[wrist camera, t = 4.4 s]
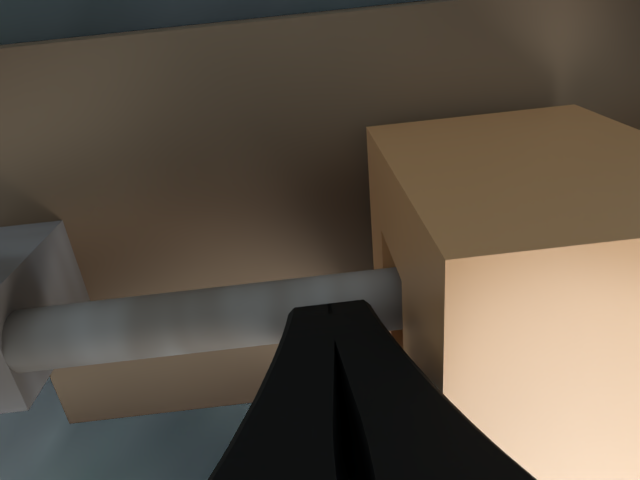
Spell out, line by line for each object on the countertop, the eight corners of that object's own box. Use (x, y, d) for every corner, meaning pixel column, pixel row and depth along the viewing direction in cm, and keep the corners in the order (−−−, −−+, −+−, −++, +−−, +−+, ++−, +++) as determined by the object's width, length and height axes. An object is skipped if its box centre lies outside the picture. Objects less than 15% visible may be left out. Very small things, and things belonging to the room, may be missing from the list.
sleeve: (547, 316, 13) (724, 535, 8) (377, 335, 13) (439, 569, 8) (573, 104, 11) (853, 214, 6) (366, 126, 11) (445, 259, 6)
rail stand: (685, 318, 16) (935, 525, 10) (87, 387, 16) (-41, 644, 10) (781, -37, 12) (1340, -67, 6) (-42, 49, 12) (-431, 119, 5)
